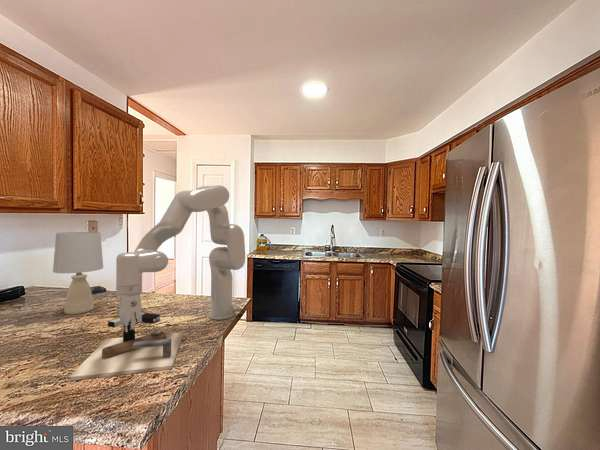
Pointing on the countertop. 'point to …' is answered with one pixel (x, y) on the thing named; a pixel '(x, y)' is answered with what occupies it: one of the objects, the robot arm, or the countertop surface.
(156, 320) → the toy gun
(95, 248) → the lamp
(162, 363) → the hinge board
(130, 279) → the robot arm
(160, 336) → the walnut link
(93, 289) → the disk drive
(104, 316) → the countertop surface
